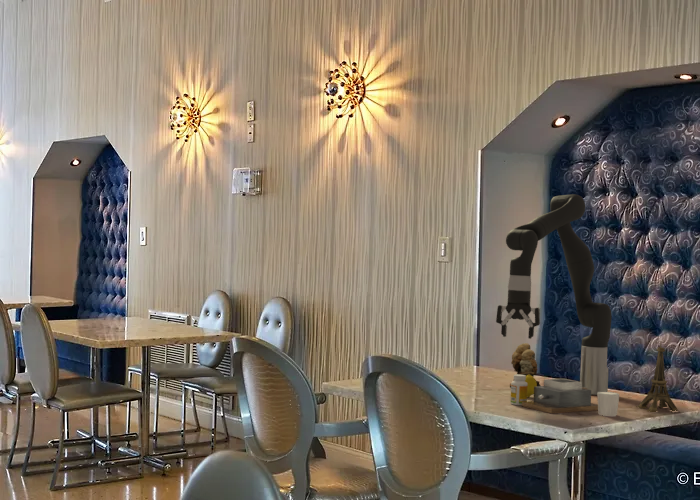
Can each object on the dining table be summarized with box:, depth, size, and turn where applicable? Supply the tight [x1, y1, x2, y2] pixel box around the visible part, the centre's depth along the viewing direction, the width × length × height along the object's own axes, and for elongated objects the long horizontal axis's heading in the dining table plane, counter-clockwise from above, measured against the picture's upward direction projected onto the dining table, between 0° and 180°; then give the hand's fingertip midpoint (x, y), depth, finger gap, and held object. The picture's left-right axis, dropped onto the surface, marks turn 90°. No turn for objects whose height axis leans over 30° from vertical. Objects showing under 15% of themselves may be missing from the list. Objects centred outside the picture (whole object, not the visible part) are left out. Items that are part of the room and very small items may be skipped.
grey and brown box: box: [521, 378, 598, 415], centre depth 324 cm, size 22×14×9 cm, turn 121°
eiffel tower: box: [636, 342, 679, 413], centre depth 329 cm, size 11×11×25 cm
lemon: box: [525, 375, 537, 398], centre depth 346 cm, size 6×6×8 cm
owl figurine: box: [509, 342, 542, 389], centre depth 367 cm, size 18×12×17 cm, turn 0°
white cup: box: [596, 391, 621, 417], centre depth 315 cm, size 7×7×7 cm
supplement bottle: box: [510, 373, 528, 406], centre depth 329 cm, size 5×5×10 cm
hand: (517, 337), depth 330 cm, fingers open, 8 cm apart
